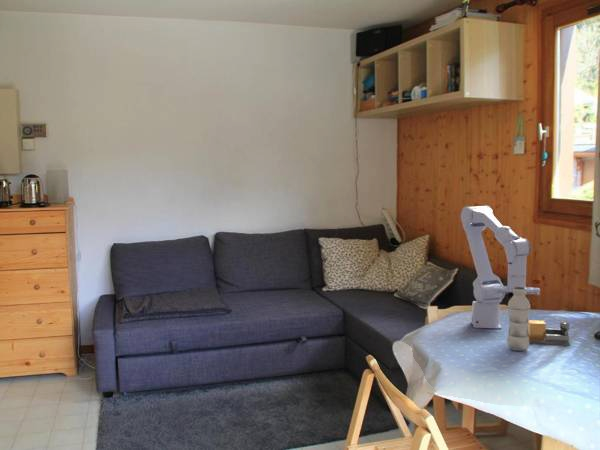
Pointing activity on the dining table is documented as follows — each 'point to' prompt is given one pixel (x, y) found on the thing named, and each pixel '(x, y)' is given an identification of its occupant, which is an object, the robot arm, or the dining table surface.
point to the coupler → (554, 336)
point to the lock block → (536, 329)
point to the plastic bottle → (518, 320)
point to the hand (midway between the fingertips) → (515, 314)
